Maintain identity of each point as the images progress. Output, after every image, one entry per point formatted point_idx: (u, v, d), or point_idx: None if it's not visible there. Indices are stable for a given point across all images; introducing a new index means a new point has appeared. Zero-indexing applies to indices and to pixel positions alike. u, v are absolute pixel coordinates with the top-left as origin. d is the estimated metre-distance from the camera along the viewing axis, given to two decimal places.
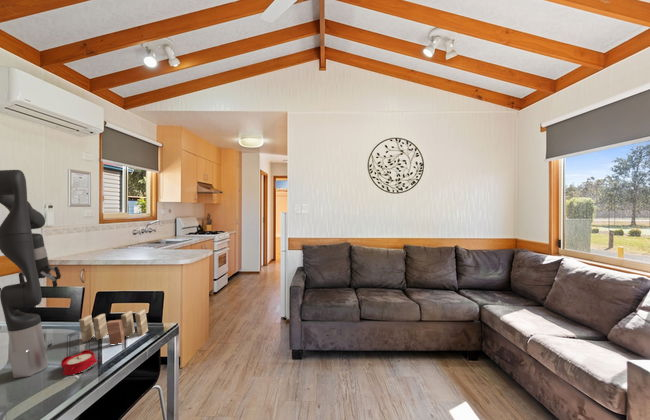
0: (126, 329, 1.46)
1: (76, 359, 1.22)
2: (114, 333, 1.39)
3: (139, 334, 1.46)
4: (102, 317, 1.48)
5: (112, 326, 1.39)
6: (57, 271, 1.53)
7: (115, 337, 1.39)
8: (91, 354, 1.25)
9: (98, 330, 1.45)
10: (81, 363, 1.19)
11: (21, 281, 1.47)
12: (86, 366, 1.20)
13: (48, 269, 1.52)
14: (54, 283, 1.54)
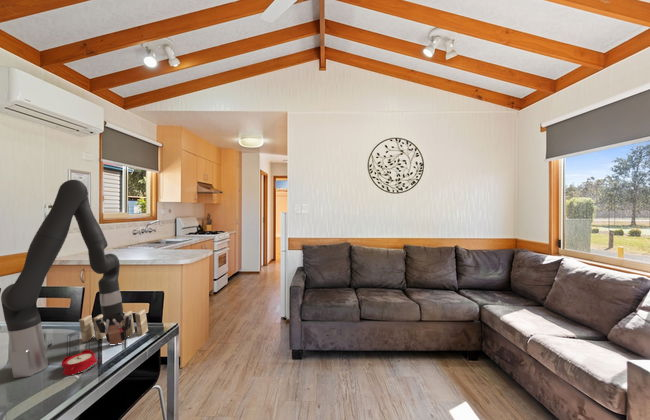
0: None
1: (76, 359, 1.22)
2: (114, 333, 1.39)
3: (139, 334, 1.46)
4: (102, 317, 1.48)
5: (112, 326, 1.39)
6: (127, 322, 1.39)
7: (115, 337, 1.39)
8: (91, 354, 1.25)
9: (98, 330, 1.45)
10: (81, 363, 1.19)
11: (100, 329, 1.38)
12: (86, 366, 1.20)
13: (120, 317, 1.38)
14: (122, 335, 1.39)
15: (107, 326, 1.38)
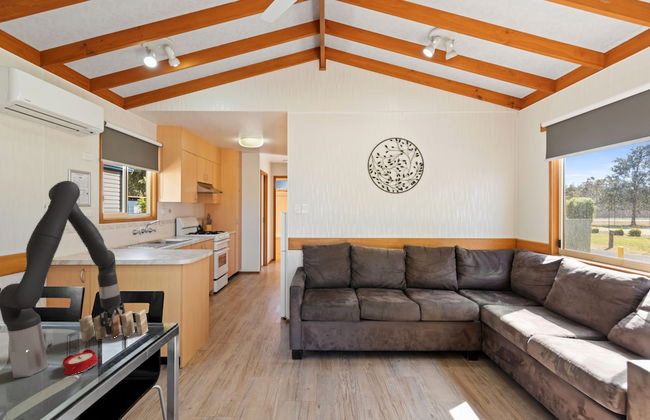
0: (126, 329, 1.46)
1: (77, 358, 1.22)
2: None
3: (139, 334, 1.46)
4: None
5: None
6: None
7: None
8: (92, 354, 1.25)
9: (98, 330, 1.45)
10: (82, 363, 1.19)
11: None
12: (87, 366, 1.20)
13: None
14: None
15: None
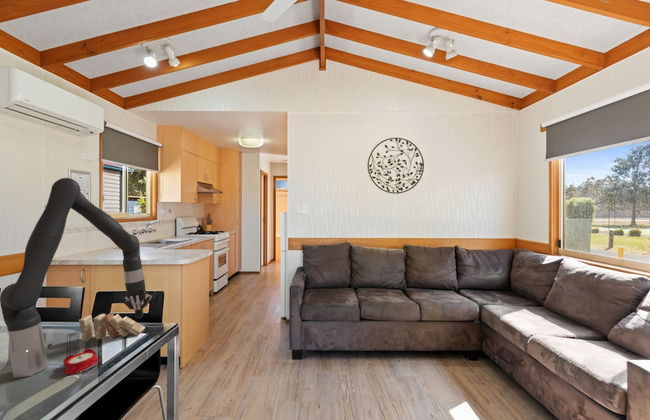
0: (121, 329, 1.46)
1: (78, 358, 1.23)
2: None
3: (137, 334, 1.46)
4: (102, 317, 1.48)
5: None
6: (146, 301, 1.46)
7: None
8: (93, 353, 1.25)
9: (98, 330, 1.45)
10: (82, 362, 1.19)
11: (128, 306, 1.46)
12: (87, 365, 1.20)
13: (143, 294, 1.46)
14: (139, 312, 1.47)
15: (133, 302, 1.46)
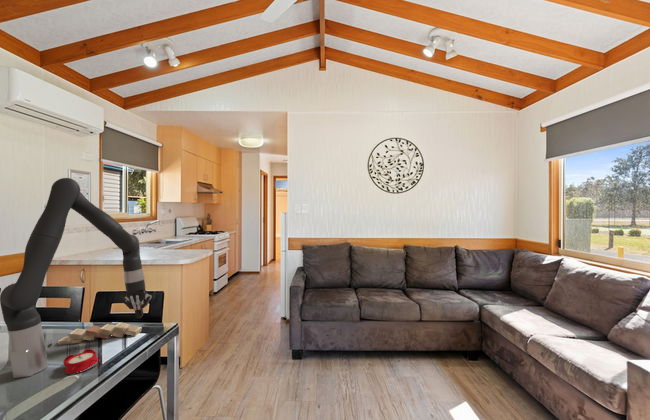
0: (115, 332, 1.46)
1: (78, 358, 1.23)
2: None
3: (134, 334, 1.46)
4: (76, 330, 1.47)
5: None
6: (146, 301, 1.47)
7: None
8: (93, 353, 1.25)
9: (83, 336, 1.45)
10: (82, 362, 1.19)
11: (128, 305, 1.46)
12: (87, 365, 1.20)
13: (143, 294, 1.46)
14: (139, 312, 1.47)
15: (133, 302, 1.46)
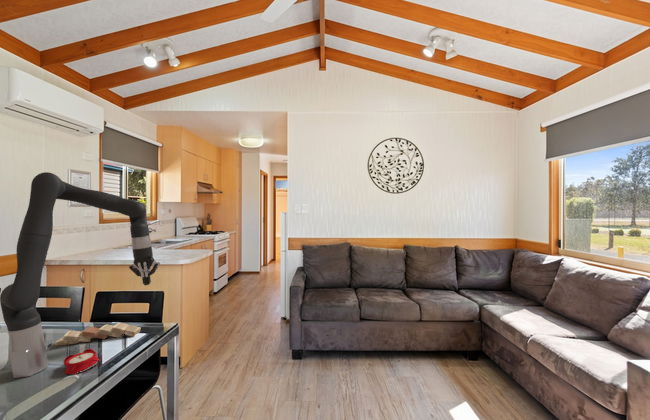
0: (114, 333, 1.46)
1: (78, 358, 1.23)
2: None
3: (132, 334, 1.46)
4: (69, 332, 1.45)
5: None
6: (154, 268, 1.46)
7: None
8: (93, 353, 1.25)
9: (78, 338, 1.43)
10: (82, 362, 1.19)
11: (136, 272, 1.45)
12: (87, 365, 1.20)
13: (150, 261, 1.45)
14: (147, 279, 1.46)
15: (141, 269, 1.45)
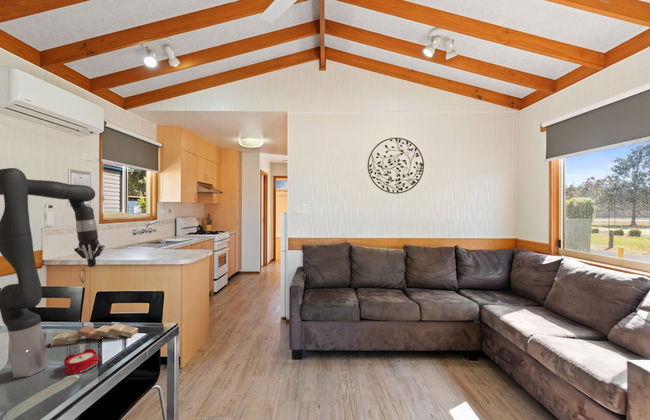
0: (111, 333, 1.45)
1: (78, 358, 1.23)
2: None
3: (129, 335, 1.45)
4: (58, 335, 1.46)
5: None
6: (98, 250, 1.52)
7: None
8: (93, 353, 1.25)
9: (66, 338, 1.44)
10: (82, 362, 1.19)
11: (81, 255, 1.52)
12: (88, 365, 1.20)
13: (95, 243, 1.52)
14: (91, 261, 1.52)
15: (85, 251, 1.51)
